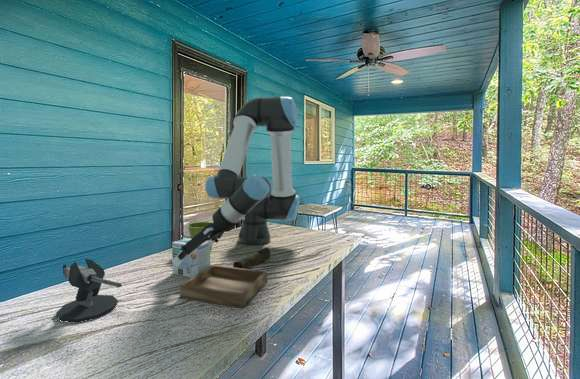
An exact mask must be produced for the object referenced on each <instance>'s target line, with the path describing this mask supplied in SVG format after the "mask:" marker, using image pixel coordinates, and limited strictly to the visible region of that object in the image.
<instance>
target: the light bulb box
mask: <svg viewBox="0 0 580 379" xmlns="http://www.w3.org/2000/svg"><path fill="white" fill-rule="evenodd" d="M190 240H191V237H184V238H182V239H179V240H176V241H173V242H171V244H172V245H171V248H172V252H171V253H172V257H171V258H172V260H173V259H174V258H175V257H176V256H177V255H178V253H179V252H180V251H181V246H182V245H183V246H184V245H185V244H186V243H187V242H189V241H190ZM210 266H211V251H210V241H205V242H204V243H203V244H201V245H200V246H199V247H198V248H196V249H195V250H194V251H192V252H191V254H190V255H189V256H188V257H187V259H186V260H185V261H184V262H183V263H182V264H181V265H180V266H179V267H176V266H175V265H174V263H173V262H172V274H174V275H177V276H181V277H186V278H190V279H191V278H192V277H194V276H196V275H197V274H199V273H200V272H202V271H204V270H205V269H207V268H208V267H210Z"/></svg>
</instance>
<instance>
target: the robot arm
mask: <svg viewBox="0 0 580 379" xmlns="http://www.w3.org/2000/svg"><path fill="white" fill-rule="evenodd" d="M239 108H240V109H239V110H238V111H237V112H236V113H235V116H234V118H233V122H232V124H233V129H232V132H231V136H230V137H229V140H228V143H227V145H226V149H225V151H224V154H223V157H222V161H221V163H220V166H219V169H218V171H217V174H216V176H215V175H214V176H213V175H212V176H209V177H208V178H207V179H206V182H205V192H206V195H207V197H209V198H212V199H219V200H221V199H224V200H225V199H226V200H225V201H224V202H223V203H222V204H221V206H220V207H218V209H216V211H214V213H213V214H212V218H211V219H212V222H213V224H212V223H211V224H210V225H208V227H207V226H206V227H204V229H203V230H202V231H201V232H199V233H198V234H197V235H196V236H195V237H193V238H192V239H191V238H190V239H191V240H190V241H189V242H187V243H186V244H185V245H184V246H183V245H182V246H181V251H180V252H179V253H178V255H177V256H176V257H175V258H174V259H173V258H172V259H171V263H172V264H173V263H174V265H175V266H176V267H179V266H180V265H181V264H182V263H183V262H184V261H185V260H186V259H187V257H188V256H189V255H190V254H191V252H192V251H194V250H195V249H196V248H198V247H199V246H200V245H201V244H203V243H204V242H205V241H210V246H211V245H212V246H213V244H214V243H218V242H219V239H221V237H222V236H223V234H225V232H227V233H229V232H231V231H232V230H233V229H234V228H235V227H236V226H237V225H238V223H240V222H241V227H240V230H239V233H238V243H240V244H244V245H249V246H250V245H251V246H253V245H254V246H255V245H256V246H257V245H264V244H268V243H270V242H271V239H272V238H271V233H270V230H269V226H268V220H270V221H271V220H272V221H285V222H287V221H295V220H296V219H297V216H298V213H299V209H300V199H301V198H300V195H297V194H296V193H297V192H296V189H294V188H293V175H292V174H293V172H292V170H293V168H292V167H293V166H292V164H293V163H292V137H291V135H292V133H293V132H294V131H295V127H297V126H298V124H299V114H298V109H297V105H296V102H295V100H294V98H293V97H290V96H271V97H270V96H269V97H268V96H267V97H261V96H259V97H254V98H252V99H250V100H248V101H246V102H245V103H244V104H243V105H242V106H241V107H239ZM258 127H265V128H266V132H267V134H269V136H270V153H271V154H270V155H271V172H272V173H271V174H272V176H271V177H272V181H271V179H269V178H268V177H266V176H261V175H259V174H257V173H252V174H250V176H248V177H245V176H244V177H243V176H242V177H240V173H241V171H242V167H243V164H244V162H245V157H246V154H247V152H248V148H249V145H250V142H251V139H252V135H253V133H255V132H256V131H257V128H258ZM208 236H209V237H208Z"/></svg>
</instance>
